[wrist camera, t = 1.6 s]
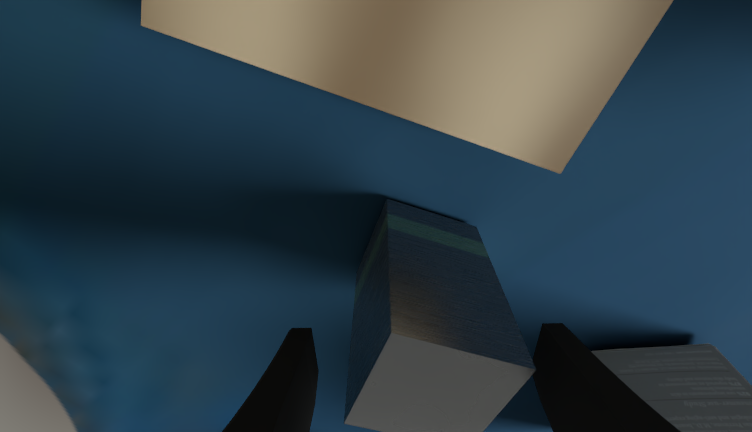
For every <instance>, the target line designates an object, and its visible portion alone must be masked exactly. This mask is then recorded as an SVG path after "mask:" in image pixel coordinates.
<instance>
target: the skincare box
mask: <svg viewBox="0 0 752 432" xmlns="http://www.w3.org/2000/svg"><path fill="white" fill-rule="evenodd" d="M591 352H592V353H593V354H594V355H595V356H596V357H597V358H598V359H599V360H600V361H601V362H602V363H603V364H604V365H606V366H607V367H608V368H609V369H610V370H611V371H612V372H613V373H614V374H615V375H616V376H617V377H618V378H619V379H620V380H621V381H623V382H624V383H625V384H626V385H627V386H628V387H629V388H630V389H631V390H632V391H633V392H635V393H636V394H637V395H638V396H639V397H640V398H641V399H643V400H644V401H645V402H646V403H647V404H648V405H650V406H651V407H652V408H653V409H654V410H655V411H657V412H658V413H659V414H660V415H661V416H662V417H664V418H665V419H666V420H667V421H668V422H670V423H671V424H672V425H673V426H675V427H676V428H677V429H678V430H680V431H681V432H752V386H751V385H750V384H749V383H748V381H747V380H746V379H745V378H744V377H743V376H742V375H741V374H740V373H739V372H738V371H737V370H736V368H735V367H734V366H733V365H732V364H731V363H730V362H729V361H728V360H727V359H726V358H725V357H724V356H723V355H722V354H721V353H720V352H719V350H718V349H717V348H716V347H715V346H712V345H711V344H697V345H681V346H666V347H647V348H629V349H611V350H600V351H591Z"/></svg>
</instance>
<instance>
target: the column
mask: <svg viewBox="0 0 752 432" xmlns="http://www.w3.org/2000/svg"><path fill="white" fill-rule="evenodd" d="M535 371H536V368H535V365H534V363H533V361H532V358H531V356H530V354H529V351H528V349H527V346H526V344H525V342H524V339H523V337H522V334H521V332H520V330H519V327H518V325H517V323H516V320H515V318H514V315H513V313H512V311H511V308H510V306H509V303H508V301H507V299H506V296H505V294H504V292H503V289H502V287H501V284H500V282H499V280H498V277H497V275H496V273H495V270H494V268H493V265H492V263H491V261H490V258H489V256H488V253H487V251H486V249H485V246H484V244H483V242H482V239H481V237H480V234H479V232H478V230H477V227H475V226H472V225H469V224H466V223H463V222H460V221H456V220H453V219H450V218H447V217H444V216H441V215H437V214H434V213H431V212H428V211H425V210H421V209H418V208H415V207H412V206H409V205H406V204H402V203H399V202H396V201H393V200H390V199H387V200H386V202H385V205H384V207H383V210H382V212H381V214H380V217H379V219H378V222H377V224H376V227H375V229H374V231H373V234H372V236H371V239H370V241H369V244H368V246H367V249H366V251H365V253H364V256H363V258H362V261H361V263H360V266H359V268H358V270H357V276H356V288H355V299H354V311H353V323H352V334H351V346H350V358H349V369H348V381H347V393H346V404H345V416H344V424H349V425H354V426H358V427H363V428H368V429H373V430H377V431H382V432H483V431H484V430H485V429H486V427H487V426H488V425H489V424H490V423H491V422H492V420H493V419H494V418H495V417H496V416H497V415H498V414H499V412H500V411H501V410H502V409H503V408H504V407H505V406H506V404H507V403H508V402H509V401H510V400H511V399H512V397H513V396H514V395H515V394H516V393H517V392H518V391H519V389H520V388H521V387H522V386H523V385H524V384H525V382H526V381H527V380H528V379H529V378H530V377H531V376H532V374H533V373H534V372H535Z"/></svg>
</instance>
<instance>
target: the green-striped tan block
mask: <svg viewBox="0 0 752 432" xmlns="http://www.w3.org/2000/svg"><path fill="white" fill-rule="evenodd" d="M672 2H673V0H142V7H141V26H144V27H147V28H150V29H152V30H155V31H158V32H161V33H164V34H166V35H169V36H172V37H175V38H178V39H181V40H183V41H186V42H189V43H192V44H195V45H198V46H200V47H203V48H206V49H209V50H212V51H215V52H217V53H220V54H223V55H226V56H229V57H232V58H234V59H237V60H240V61H243V62H246V63H248V64H251V65H254V66H257V67H260V68H263V69H265V70H268V71H271V72H274V73H277V74H280V75H282V76H285V77H288V78H291V79H294V80H297V81H299V82H302V83H305V84H308V85H311V86H314V87H316V88H319V89H322V90H325V91H328V92H330V93H333V94H336V95H339V96H342V97H345V98H347V99H350V100H353V101H356V102H359V103H362V104H364V105H367V106H370V107H373V108H376V109H379V110H381V111H384V112H387V113H390V114H393V115H396V116H398V117H401V118H404V119H407V120H410V121H412V122H415V123H418V124H421V125H424V126H427V127H429V128H432V129H435V130H438V131H441V132H444V133H446V134H449V135H452V136H455V137H458V138H461V139H463V140H466V141H469V142H472V143H475V144H478V145H480V146H483V147H486V148H489V149H492V150H495V151H497V152H500V153H503V154H506V155H509V156H511V157H514V158H517V159H520V160H523V161H526V162H528V163H531V164H534V165H537V166H540V167H543V168H545V169H548V170H551V171H554V172H557V173H560V174H561V172H562V171H563V169H564V167H565V166H566V164H567V163H568V161H569V160H570V158H571V157H572V155H573V154H574V152H575V151H576V149H577V147H578V146H579V144H580V143H581V141H582V140H583V138H584V137H585V135H586V134H587V132H588V131H589V129H590V128H591V126H592V124H593V123H594V121H595V120H596V118H597V117H598V115H599V114H600V112H601V111H602V109H603V108H604V106H605V105H606V103H607V101H608V100H609V98H610V97H611V95H612V94H613V92H614V91H615V89H616V88H617V86H618V85H619V83H620V82H621V80H622V78H623V77H624V75H625V74H626V72H627V71H628V69H629V68H630V66H631V65H632V63H633V62H634V60H635V58H636V57H637V55H638V54H639V52H640V51H641V49H642V48H643V46H644V45H645V43H646V42H647V40H648V39H649V37H650V35H651V34H652V32H653V31H654V29H655V28H656V26H657V25H658V23H659V22H660V20H661V19H662V17H663V16H664V14H665V12H666V11H667V9H668V8H669V6H670V5H671V3H672Z"/></svg>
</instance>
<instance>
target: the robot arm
mask: <svg viewBox="0 0 752 432" xmlns="http://www.w3.org/2000/svg"><path fill="white" fill-rule="evenodd" d="M533 363H534V365H535V368H536V371H535V372H534V373H533V377H534V381H535V384H536V388H537V391H538V394H539V397H540V401H541V403H542V406H543V408H544V410H545V413H546V415H547V417H548V420H549V422H550V425H551V427H552V429H553V432H681V431H680V430H678V429H677V428H676V427H675V426H673V425H672V424H671V423H670V422H668V421H667V420H666V419H665V418H664V417H662V416H661V415H660V414H659V413H658V412H657V411H655V410H654V409H653V408H652V407H651V406H650V405H648V404H647V403H646V402H645V401H644V400H643V399H641V398H640V397H639V396H638V395H637V394H636V393H635V392H633V391H632V390H631V389H630V388H629V387H628V386H627V385H626V384H625V383H624V382H623V381H621V380H620V379H619V378H618V377H617V376H616V375H615V374H614V373H613V372H612V371H611V370H610V369H609V368H608V367H607V366H606V365H604V364H603V363H602V362H601V361H600V360H599V359H598V358H597V357H596V356H595V355H594V354H593V353H592V352H591V351H590V350H589V349H588V348H587V347H586V346H585V345H584V344H583V343H582V342H581V341H580V340H579V339H578V338H577V337H576V336H575V335H574V334H573V333H572V332H571V331H570V330H569V329H568V328H567V327H566V326H565V325H564V324H563V323H550V324H542V327H541V331H540V335H539V338H538V342H537V346H536V350H535V353H534V357H533ZM317 380H318V365H317V359H316V353H315V347H314V341H313V335H312V329H311V328H292V329H291V330H290V331H289V332H288V334H287V336H286V338H285V339H284V341H283V343H282V345H281V346H280V348H279V350H278V352H277V353H276V355H275V357H274V358H273V360H272V362H271V363H270V365H269V366H268V368H267V370H266V371H265V373H264V374H263V376H262V377H261V379H260V380H259V382H258V383H257V385H256V386H255V388H254V389H253V391H252V392H251V394H250V395H249V396H248V398H247V399H246V401H245V402H244V403H243V405H242V406H241V407H240V409H239V410H238V412H237V413H236V414H235V416H234V417H233V418H232V420H231V421H230V422H229V424H228V425H227V426H226V427H225V429H224V430H223V431H222V432H309V430H310V426H311V421H312V416H313V411H314V406H315V399H316V390H317Z"/></svg>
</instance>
